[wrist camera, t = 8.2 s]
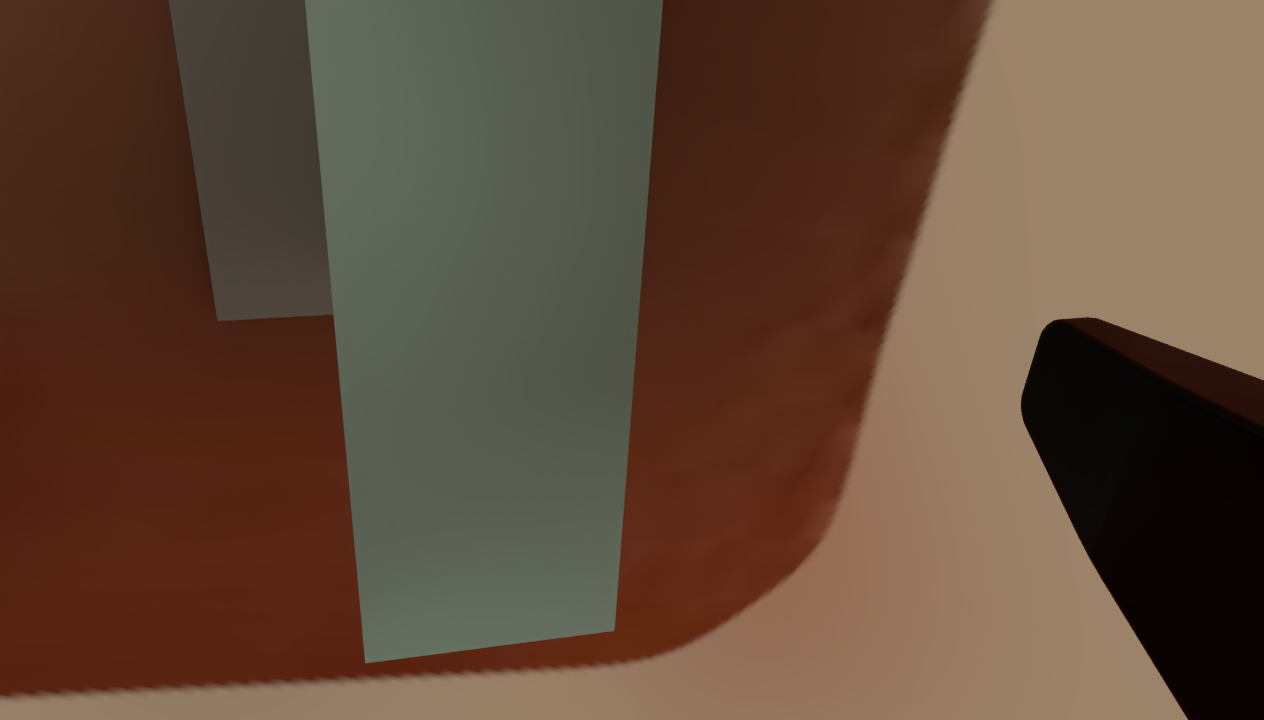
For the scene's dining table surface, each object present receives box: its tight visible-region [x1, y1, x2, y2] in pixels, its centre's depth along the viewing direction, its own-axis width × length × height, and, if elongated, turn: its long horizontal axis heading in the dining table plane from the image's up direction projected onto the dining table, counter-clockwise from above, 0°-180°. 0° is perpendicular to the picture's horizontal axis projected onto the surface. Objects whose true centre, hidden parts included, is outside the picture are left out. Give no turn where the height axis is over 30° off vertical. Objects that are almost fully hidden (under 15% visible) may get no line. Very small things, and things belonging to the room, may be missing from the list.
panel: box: [305, 0, 663, 663], centre depth 15 cm, size 10×3×10 cm, turn 176°
